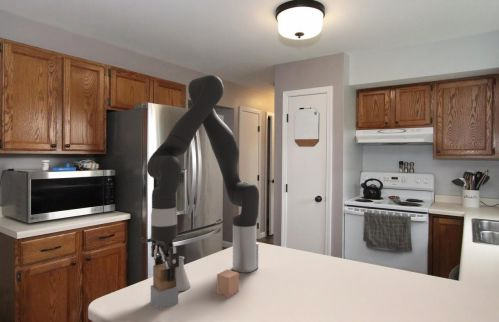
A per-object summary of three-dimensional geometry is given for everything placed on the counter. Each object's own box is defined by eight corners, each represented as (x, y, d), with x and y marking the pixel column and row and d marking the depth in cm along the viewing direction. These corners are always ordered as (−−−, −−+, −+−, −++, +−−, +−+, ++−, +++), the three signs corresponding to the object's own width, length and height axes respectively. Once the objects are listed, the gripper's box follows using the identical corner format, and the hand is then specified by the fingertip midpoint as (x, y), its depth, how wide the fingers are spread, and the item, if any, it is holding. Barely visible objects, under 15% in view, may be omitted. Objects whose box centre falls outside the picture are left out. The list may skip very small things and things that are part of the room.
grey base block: (169, 296, 97) (169, 280, 97) (178, 303, 92) (178, 286, 92) (150, 302, 93) (150, 285, 93) (158, 309, 88) (158, 292, 88)
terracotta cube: (227, 287, 103) (227, 269, 103) (238, 291, 100) (239, 272, 100) (217, 292, 99) (217, 274, 99) (229, 296, 96) (229, 277, 96)
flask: (185, 293, 99) (185, 262, 99) (164, 291, 100) (164, 260, 100) (193, 284, 106) (193, 255, 106) (174, 282, 107) (174, 253, 107)
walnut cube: (168, 281, 96) (168, 262, 96) (176, 286, 92) (176, 266, 92) (153, 285, 93) (153, 265, 93) (160, 291, 89) (160, 270, 89)
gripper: (187, 224, 89) (187, 280, 89) (166, 217, 100) (166, 267, 100) (162, 228, 84) (162, 287, 85) (143, 220, 95) (143, 272, 96)
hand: (164, 276), depth 92 cm, fingers open, 8 cm apart
